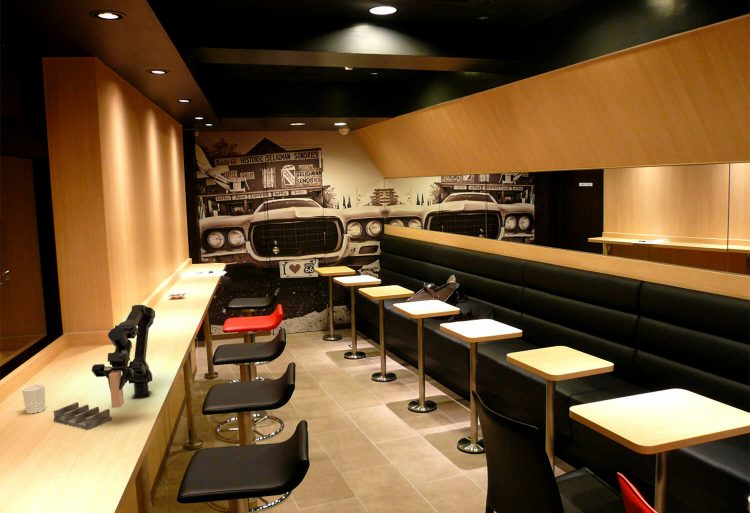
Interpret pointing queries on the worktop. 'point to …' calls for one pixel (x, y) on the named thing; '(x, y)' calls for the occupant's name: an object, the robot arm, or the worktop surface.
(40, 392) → the white cup
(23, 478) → the worktop surface
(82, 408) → the rack
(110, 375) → the clay bar
